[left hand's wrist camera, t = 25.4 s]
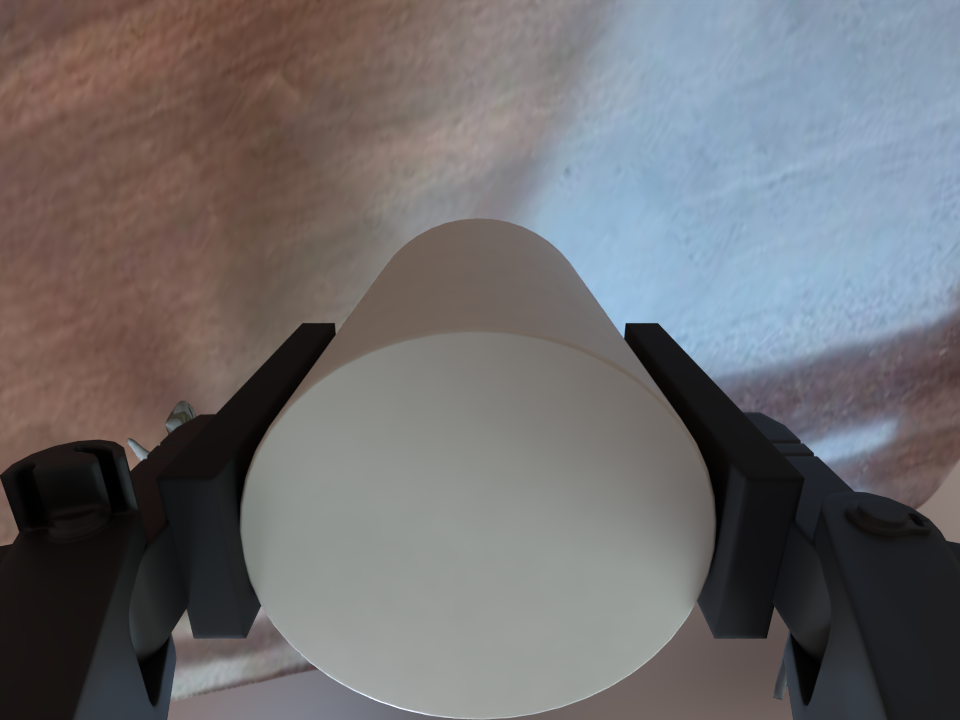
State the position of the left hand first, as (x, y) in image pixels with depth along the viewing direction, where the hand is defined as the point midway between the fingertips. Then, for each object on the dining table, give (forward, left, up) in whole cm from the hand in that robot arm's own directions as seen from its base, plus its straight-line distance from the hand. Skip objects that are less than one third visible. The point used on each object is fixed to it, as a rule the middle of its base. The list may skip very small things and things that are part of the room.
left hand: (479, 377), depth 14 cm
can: (0, 0, -4) cm, 4 cm away
